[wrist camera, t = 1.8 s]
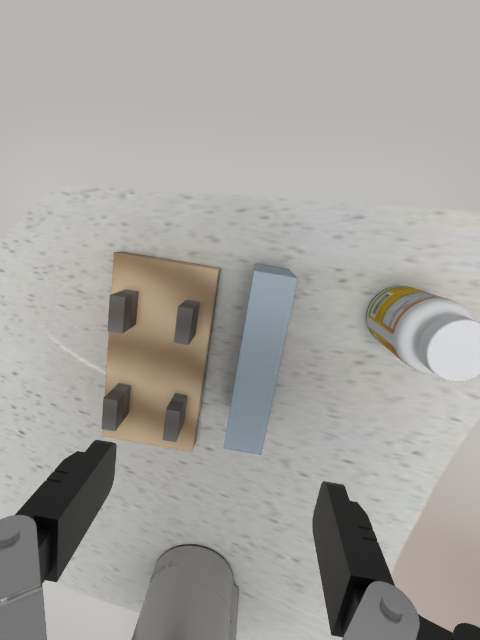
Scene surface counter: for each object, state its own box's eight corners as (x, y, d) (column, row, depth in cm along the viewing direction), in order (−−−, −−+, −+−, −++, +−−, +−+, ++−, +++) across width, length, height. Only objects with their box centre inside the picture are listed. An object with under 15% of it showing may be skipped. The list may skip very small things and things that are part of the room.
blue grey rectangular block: (261, 409, 32) (261, 455, 25) (231, 404, 32) (223, 448, 26) (288, 269, 29) (297, 278, 22) (255, 263, 29) (254, 270, 22)
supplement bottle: (428, 340, 29) (507, 387, 20) (367, 347, 30) (416, 397, 21) (427, 280, 28) (510, 302, 19) (363, 289, 29) (414, 314, 19)
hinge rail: (195, 443, 33) (185, 473, 29) (109, 427, 34) (86, 455, 29) (220, 268, 29) (213, 273, 25) (121, 251, 29) (96, 253, 25)
